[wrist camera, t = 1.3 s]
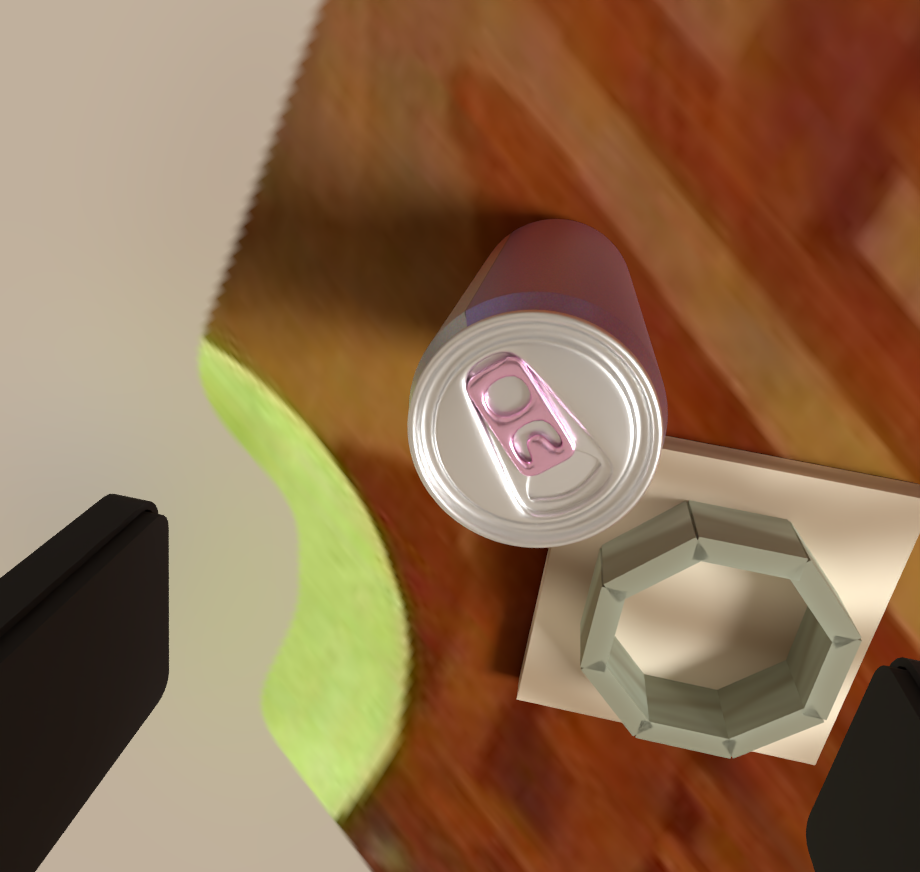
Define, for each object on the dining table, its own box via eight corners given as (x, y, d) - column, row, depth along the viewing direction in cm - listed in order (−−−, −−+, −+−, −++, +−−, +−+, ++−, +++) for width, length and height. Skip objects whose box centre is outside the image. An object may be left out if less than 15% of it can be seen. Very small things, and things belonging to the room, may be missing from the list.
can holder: (578, 419, 32) (577, 462, 28) (918, 484, 31) (969, 539, 27) (519, 678, 38) (511, 746, 34) (806, 740, 37) (834, 819, 33)
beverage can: (582, 185, 29) (584, 247, 15) (658, 319, 30) (722, 486, 16) (451, 269, 31) (346, 392, 17) (528, 391, 32) (489, 594, 18)
